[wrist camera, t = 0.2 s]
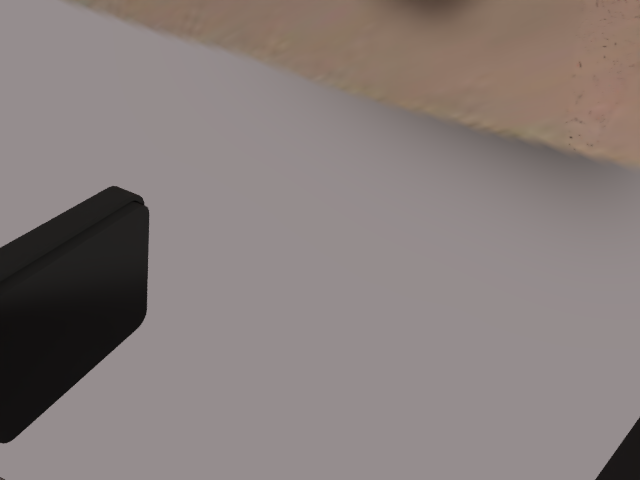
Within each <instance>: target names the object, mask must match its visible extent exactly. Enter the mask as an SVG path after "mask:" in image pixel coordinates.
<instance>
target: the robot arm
mask: <svg viewBox="0 0 640 480" xmlns="http://www.w3.org/2000/svg"><path fill="white" fill-rule="evenodd" d="M148 241H149V210H148V208H147V207H146V206H144V201H143V198H142V197H141V196H139V195H137V194H134V193H132V192H129V191H127V190H124V189H122V188H119V187H117V186H112V187H109V188H107V189H105V190H103V191H101V192H100V193H98V194H96V195H94V196H93V197H91V198H89V199H87V200H85V201H83V202H82V203H80V204H78V205H76V206H75V207H73V208H71V209H69V210H67V211H66V212H64V213H62V214H60V215H58V216H57V217H55V218H53V219H51V220H50V221H48V222H46V223H44V224H42V225H40V226H39V227H37V228H35V229H33V230H31V231H30V232H28V233H26V234H25V235H22V236H21V237H19V238H17V239H15V240H14V241H12V242H10V243H8V244H7V245H5V246H3V247H1V248H0V443H8V442H10V441H12V440H13V439H14V438H15V437H16V436H18V435H19V434H20V433H21V432H22V431H23V430H24V429H26V428H27V427H28V426H29V425H30V424H31V423H32V422H33V421H35V420H36V419H37V418H38V417H39V416H40V415H41V414H42V413H44V412H45V411H46V410H47V409H48V408H49V407H50V406H51V405H52V404H54V403H55V402H56V401H57V400H58V399H59V398H60V397H61V396H63V395H64V394H65V393H66V392H67V391H68V390H69V389H70V388H71V387H73V386H74V385H75V384H76V383H77V382H78V381H79V380H80V379H81V378H83V377H84V376H85V375H86V374H87V373H88V372H89V371H90V370H92V369H93V368H94V367H95V366H96V365H97V364H98V363H99V362H100V361H102V360H103V359H104V358H105V357H106V356H107V355H108V354H109V353H110V352H112V351H113V350H114V349H115V348H116V347H117V346H118V345H119V344H121V342H123V341H124V340H125V339H126V338H127V337H128V336H130V335H131V334H132V333H133V332H134V331H135V330H136V329H137V328H138V327H139V326H140V325H141V323H142V322H143V320H144V318H145V315H146V311H147V279H148ZM0 480H5V479H3V478H1V477H0ZM595 480H640V418H639V419H638V420H637V422H636V423H635V425H634V426H633V428H632V429H631V430H630V432H629V433H628V435H627V436H626V437H625V439H624V440H623V442H622V443H621V444H620V446H619V447H618V449H617V450H616V451H615V453H614V454H613V456H612V457H611V459H610V460H609V461H608V463H607V464H606V465H605V467H604V468H603V470H602V471H601V472H600V474H599V476H598V477H597V478H596V479H595Z"/></svg>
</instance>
